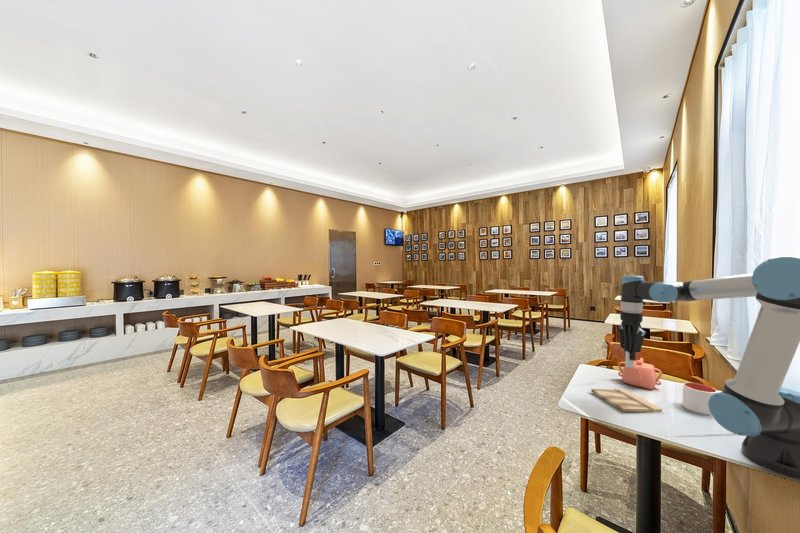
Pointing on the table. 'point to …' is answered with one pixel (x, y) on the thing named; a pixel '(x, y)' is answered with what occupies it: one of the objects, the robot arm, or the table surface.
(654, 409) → the pad
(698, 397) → the cup
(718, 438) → the table surface
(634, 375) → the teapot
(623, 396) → the board
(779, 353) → the robot arm
